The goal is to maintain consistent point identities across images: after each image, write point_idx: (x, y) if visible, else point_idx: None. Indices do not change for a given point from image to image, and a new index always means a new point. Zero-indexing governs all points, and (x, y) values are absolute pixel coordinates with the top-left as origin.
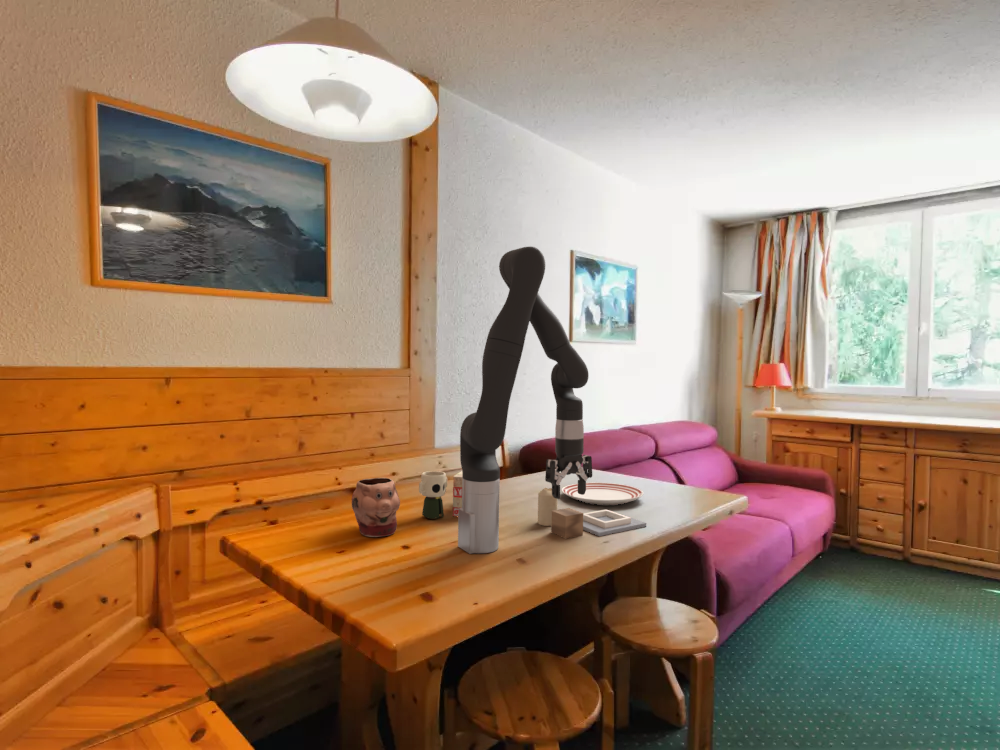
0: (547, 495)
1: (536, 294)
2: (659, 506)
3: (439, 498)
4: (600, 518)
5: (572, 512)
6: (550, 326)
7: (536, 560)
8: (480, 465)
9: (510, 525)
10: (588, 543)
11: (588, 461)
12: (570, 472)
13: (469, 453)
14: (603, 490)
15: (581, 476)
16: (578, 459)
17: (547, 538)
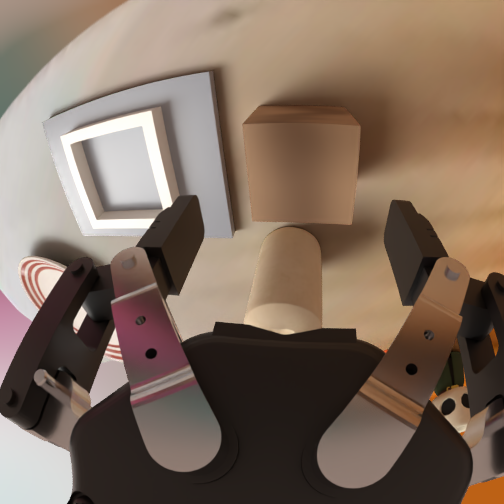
0: (308, 313)
1: None
2: (10, 227)
3: (451, 385)
4: (127, 198)
5: (286, 157)
6: None
7: None
8: None
9: (389, 281)
10: (300, 27)
11: (31, 380)
12: (307, 346)
13: None
14: (75, 324)
15: (157, 284)
16: (133, 471)
17: (395, 143)
